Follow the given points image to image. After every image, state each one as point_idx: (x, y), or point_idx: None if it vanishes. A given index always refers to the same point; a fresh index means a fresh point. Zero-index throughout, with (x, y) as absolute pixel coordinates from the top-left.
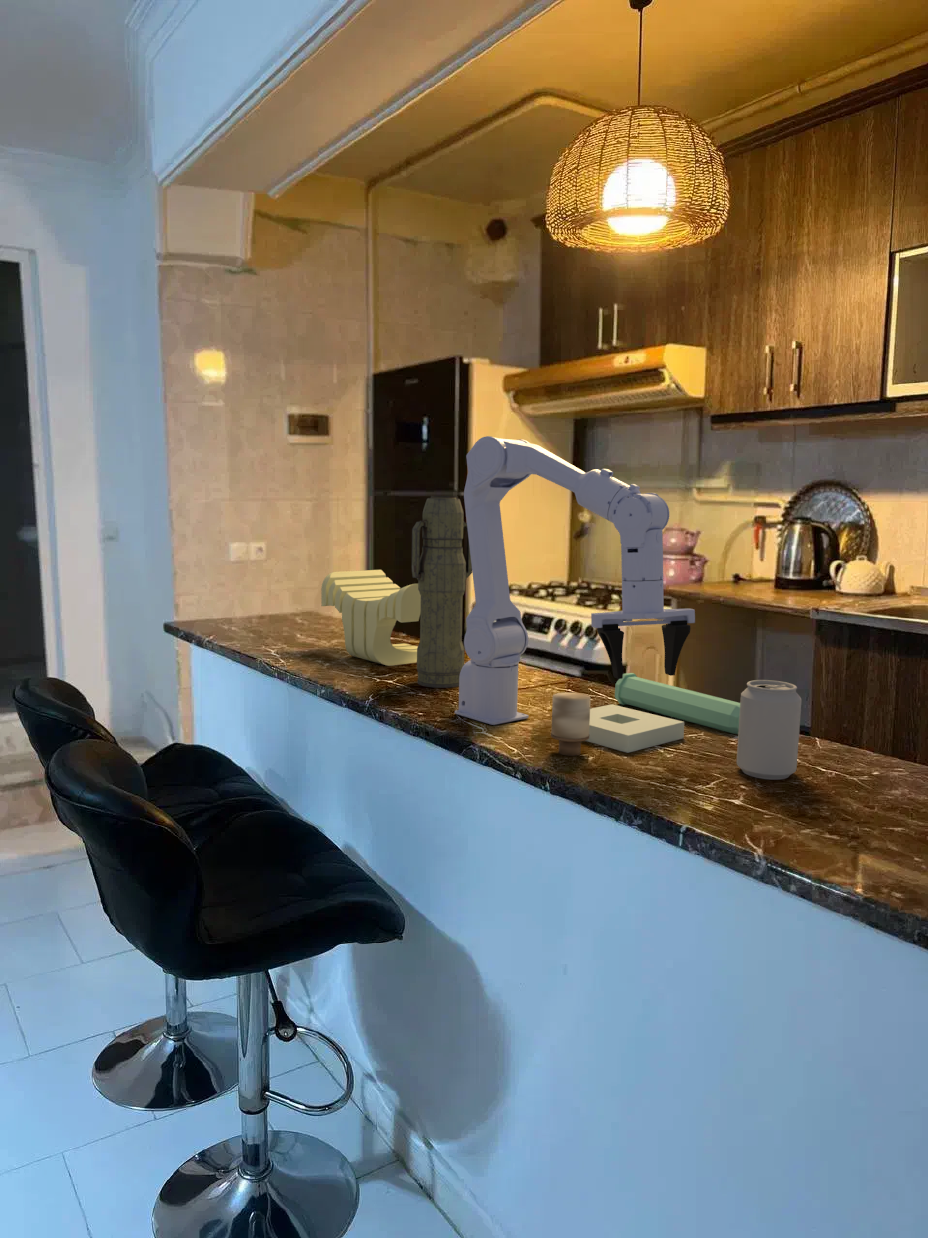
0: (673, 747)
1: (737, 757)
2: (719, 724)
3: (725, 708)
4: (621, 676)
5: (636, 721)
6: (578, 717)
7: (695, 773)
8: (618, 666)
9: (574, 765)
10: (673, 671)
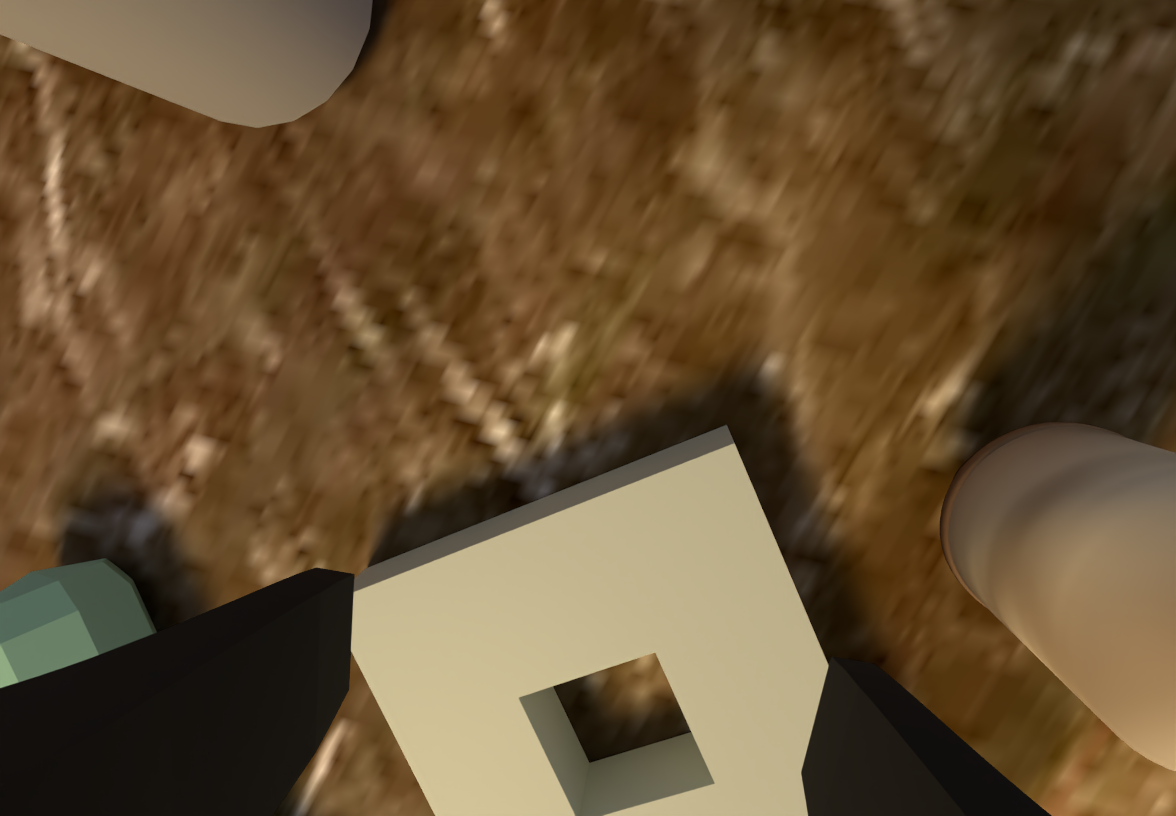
0: (475, 455)
1: (347, 25)
2: (150, 632)
3: (60, 667)
4: (851, 666)
5: (555, 671)
6: (1168, 459)
7: (578, 54)
8: (944, 734)
9: (1094, 297)
10: (307, 580)
